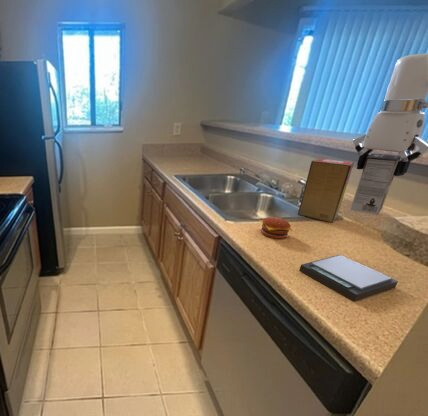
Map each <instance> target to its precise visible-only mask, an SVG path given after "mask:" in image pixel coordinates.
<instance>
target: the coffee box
mask: <svg viewBox="0 0 428 416" xmlns="http://www.w3.org/2000/svg"><path fill="white" fill-rule="evenodd" d="M399 161H401V157H400V155H399V154H390V153H376V152H375V153H374V152H371V153H369V156H368V157H367V159H366V162H365V165H364V168H363V169H362V171H361V174H360V178H359V180H358V184H357V188H356V190H355V194H354V197H353V199H352V203H351V206H350V211H354V212H360V213H365V214H369V215H374V216H379V214H380V213H381V211H382V210H383V207H384V204H385V202H386V199H387V196H388V194H389V191H390V189H391V186H392V183H393V180H394V178H395V176H394V172H395V169H396V166H397V164H398V162H399Z"/></svg>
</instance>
